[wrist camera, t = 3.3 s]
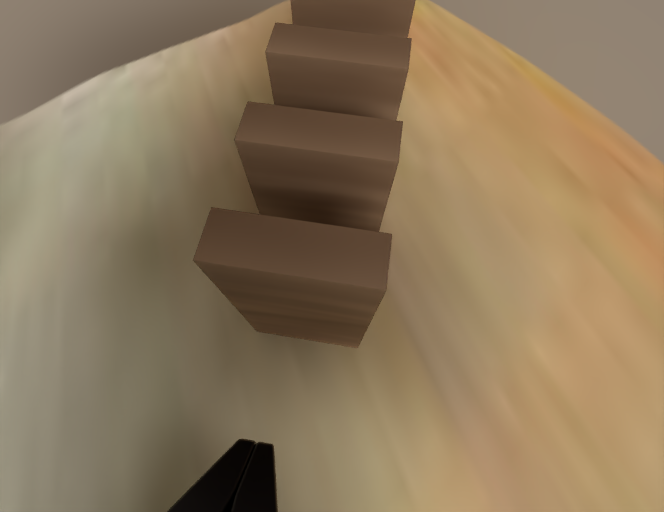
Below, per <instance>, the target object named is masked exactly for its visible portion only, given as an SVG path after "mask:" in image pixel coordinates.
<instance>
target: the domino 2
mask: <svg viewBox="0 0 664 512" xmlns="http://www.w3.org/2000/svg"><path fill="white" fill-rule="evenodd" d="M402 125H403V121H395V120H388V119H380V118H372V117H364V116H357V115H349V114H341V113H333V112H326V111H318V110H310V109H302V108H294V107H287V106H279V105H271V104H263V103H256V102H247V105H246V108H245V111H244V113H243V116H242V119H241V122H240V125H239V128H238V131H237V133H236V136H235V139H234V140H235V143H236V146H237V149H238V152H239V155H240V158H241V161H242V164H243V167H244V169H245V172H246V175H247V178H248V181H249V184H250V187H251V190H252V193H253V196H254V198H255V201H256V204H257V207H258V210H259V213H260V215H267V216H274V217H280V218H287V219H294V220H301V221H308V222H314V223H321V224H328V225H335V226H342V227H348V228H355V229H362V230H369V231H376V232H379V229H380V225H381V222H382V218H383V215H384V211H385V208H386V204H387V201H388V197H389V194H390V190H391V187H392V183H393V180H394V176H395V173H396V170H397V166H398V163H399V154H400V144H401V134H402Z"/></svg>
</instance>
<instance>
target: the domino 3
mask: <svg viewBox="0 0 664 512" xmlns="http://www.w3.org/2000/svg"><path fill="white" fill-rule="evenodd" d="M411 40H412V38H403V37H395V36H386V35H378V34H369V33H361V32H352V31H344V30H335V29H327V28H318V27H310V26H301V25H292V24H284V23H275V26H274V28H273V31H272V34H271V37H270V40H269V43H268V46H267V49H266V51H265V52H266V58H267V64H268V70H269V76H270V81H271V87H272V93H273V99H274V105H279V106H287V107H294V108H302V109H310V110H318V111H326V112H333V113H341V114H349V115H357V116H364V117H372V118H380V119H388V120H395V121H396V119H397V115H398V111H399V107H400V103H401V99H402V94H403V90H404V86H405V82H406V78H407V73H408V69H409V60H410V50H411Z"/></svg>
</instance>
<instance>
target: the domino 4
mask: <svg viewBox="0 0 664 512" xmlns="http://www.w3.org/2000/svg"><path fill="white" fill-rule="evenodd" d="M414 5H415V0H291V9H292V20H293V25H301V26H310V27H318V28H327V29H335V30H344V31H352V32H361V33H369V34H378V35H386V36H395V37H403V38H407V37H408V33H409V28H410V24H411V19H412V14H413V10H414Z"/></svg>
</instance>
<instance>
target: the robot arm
mask: <svg viewBox="0 0 664 512" xmlns="http://www.w3.org/2000/svg"><path fill="white" fill-rule="evenodd" d="M167 512H278V506H277V489H276V473H275V456H274V446H273V445H272V444H269V443H263V442H258V443H257V444H256V442H255V441H252V440H247V439H239V440H238V441H237V442H235V444H234V445H233V446H232V447H231V448H230V449H229V450H228V451H227V452H226V453H225V454H224V455H223V456H222V457H221V458H220V459H219V460H218V461H217V462H216V463H215V464H214V465H213V466H212V467H211V468H210V469H209V470H208V471H207V472H206V473H205V474H204V475H203V476H202V477H201V478H200V479H199V480H198V481H197V482H196V483H195V484H194V485H193V486H192V487H191V488H190V489H189V490H188V491H187V492H186V493H185V494H184V495H183V496H182V497H181V498H180V499H179V500H178V501H177V502H176V503H175V504H174V505H173V506H172V507H171V508H170V509H169V510H168V511H167Z"/></svg>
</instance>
